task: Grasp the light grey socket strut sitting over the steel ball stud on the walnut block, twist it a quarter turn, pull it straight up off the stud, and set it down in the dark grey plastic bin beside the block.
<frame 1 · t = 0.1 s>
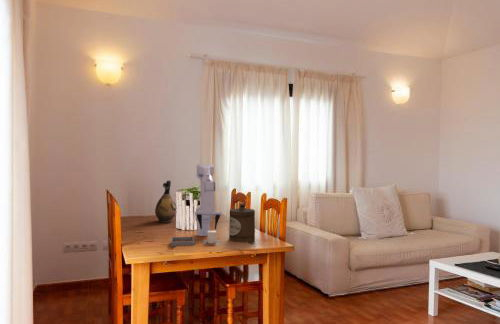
hand: (208, 228, 214), 10 cm above the table, tool pointing down, fingers open, 7 cm apart
ceramic jug: (166, 221, 292), on the table
socket strut: (211, 242, 220), point 1 cm above the table, touching stud block
wooden container: (241, 241, 230), on the table
bin: (182, 244, 218), on the table
stud block: (211, 244, 220), on the table
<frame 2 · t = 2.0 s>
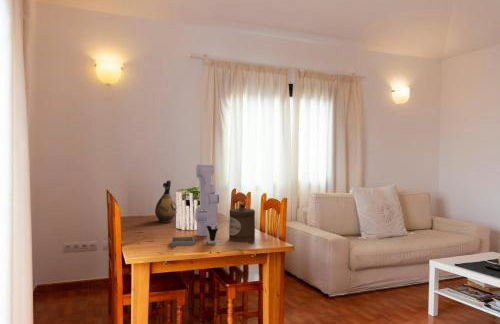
hand: (211, 239, 220), 3 cm above the table, tool pointing down, fingers closed on socket strut, 4 cm apart
socket strut: (211, 242, 220), point 1 cm above the table, touching gripper, stud block
everything else where it was.
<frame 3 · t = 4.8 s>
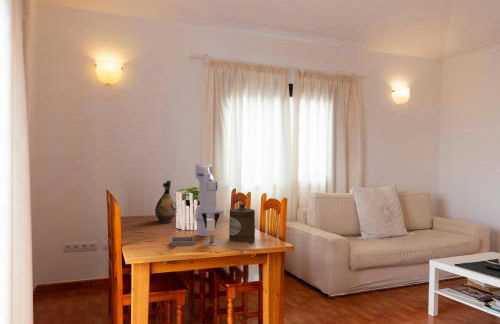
hand: (210, 227, 220), 10 cm above the table, tool pointing down, fingers closed on socket strut, 4 cm apart
socket strut: (210, 230, 220), point 8 cm above the table, touching gripper
everything else where it was.
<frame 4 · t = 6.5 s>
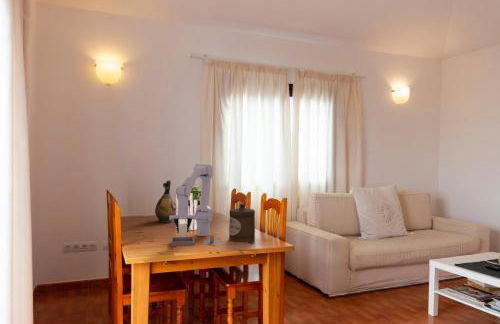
hand: (182, 232, 218), 7 cm above the table, tool pointing down, fingers closed on socket strut, 4 cm apart
socket strut: (182, 235, 218), point 5 cm above the table, touching gripper
everything else where it was.
when the fingers open (4 cm above the table, at t = 7.8 s): socket strut drops 2 cm, resting on bin.
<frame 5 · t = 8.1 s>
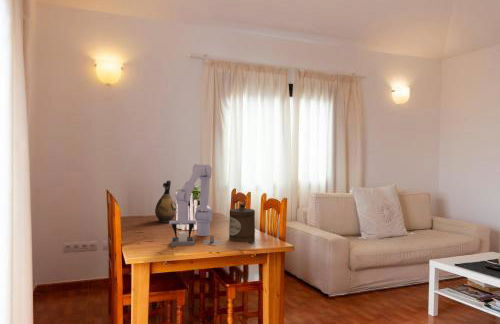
hand: (182, 237, 218), 4 cm above the table, tool pointing down, fingers open, 6 cm apart
socket strut: (182, 243, 218), point 1 cm above the table, touching bin
everything else where it was.
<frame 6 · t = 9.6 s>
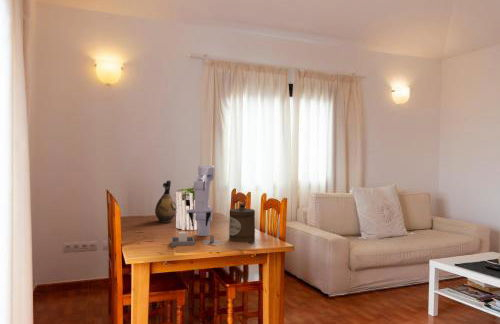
hand: (199, 225, 225), 9 cm above the table, tool pointing down, fingers open, 7 cm apart
nothing on the table moved.
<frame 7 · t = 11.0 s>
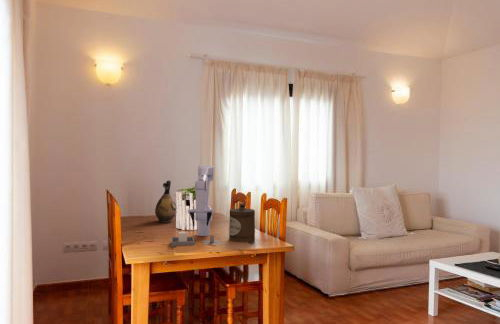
hand: (200, 225, 225), 9 cm above the table, tool pointing down, fingers open, 7 cm apart
nothing on the table moved.
at the end: socket strut inside the target area on the bin (0.2 cm from its centre), point 0.8 cm above the bin's base; the gripper is holding nothing; socket strut tilted 0° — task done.
